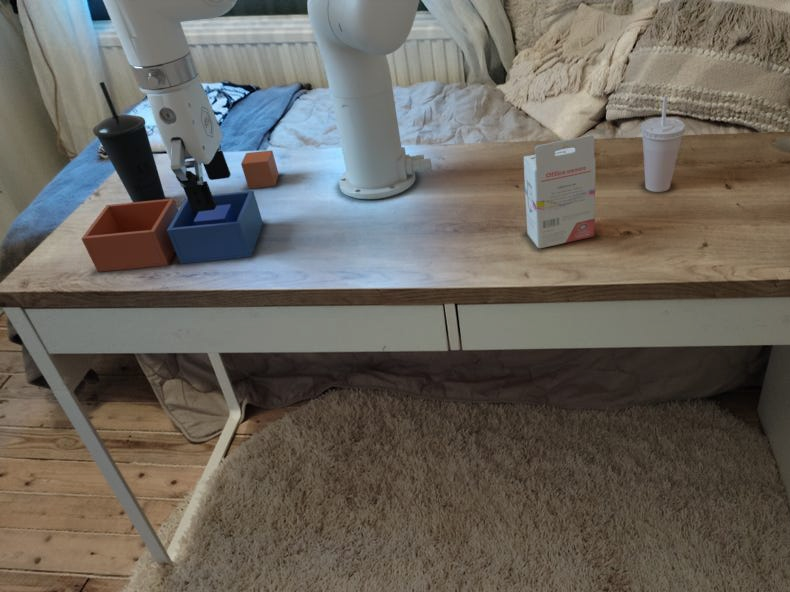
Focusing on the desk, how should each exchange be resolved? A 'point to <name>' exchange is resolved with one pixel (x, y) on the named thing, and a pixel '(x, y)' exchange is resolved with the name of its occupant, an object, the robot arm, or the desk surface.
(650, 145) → the smoothie
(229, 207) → the blue block
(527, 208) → the ink cartridge box
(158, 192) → the drinking cup
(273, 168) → the terracotta block
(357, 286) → the desk surface
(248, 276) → the desk surface
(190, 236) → the blue bin
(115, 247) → the terracotta bin
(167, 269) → the desk surface
